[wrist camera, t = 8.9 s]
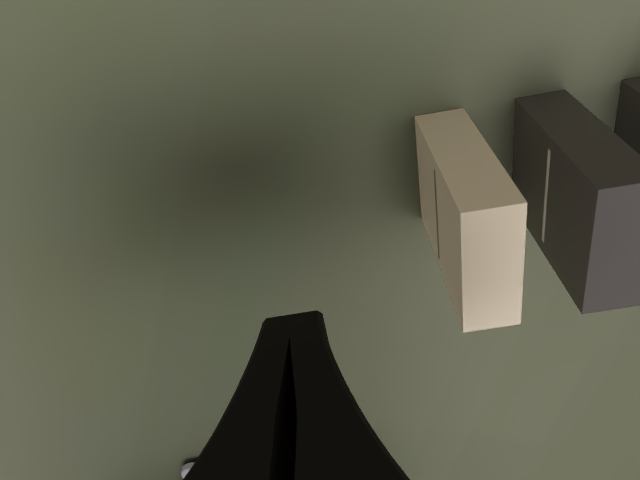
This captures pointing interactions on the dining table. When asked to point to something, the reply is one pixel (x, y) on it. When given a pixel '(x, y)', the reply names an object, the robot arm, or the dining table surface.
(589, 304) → the domino
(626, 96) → the domino
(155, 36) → the dining table surface
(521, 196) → the domino
